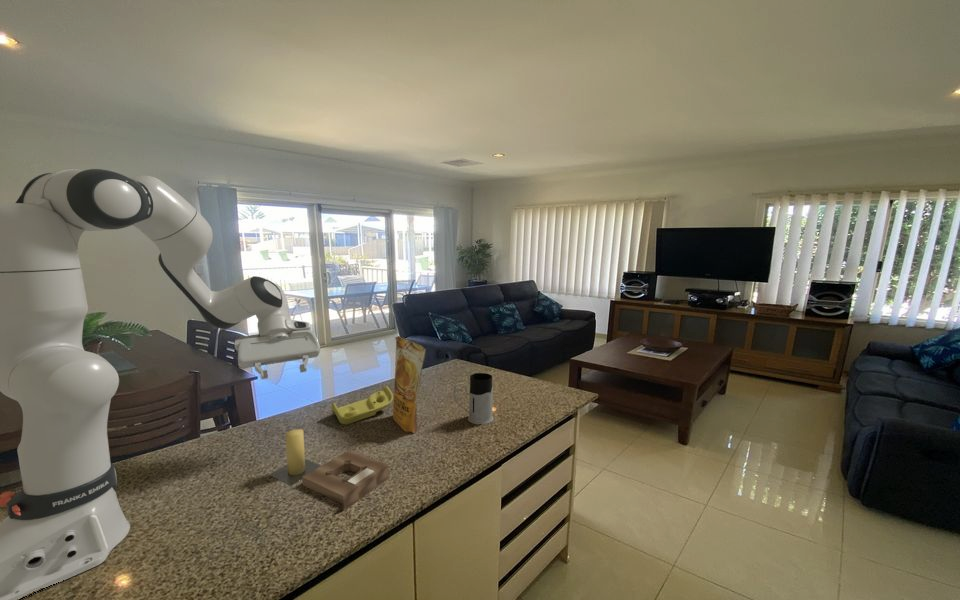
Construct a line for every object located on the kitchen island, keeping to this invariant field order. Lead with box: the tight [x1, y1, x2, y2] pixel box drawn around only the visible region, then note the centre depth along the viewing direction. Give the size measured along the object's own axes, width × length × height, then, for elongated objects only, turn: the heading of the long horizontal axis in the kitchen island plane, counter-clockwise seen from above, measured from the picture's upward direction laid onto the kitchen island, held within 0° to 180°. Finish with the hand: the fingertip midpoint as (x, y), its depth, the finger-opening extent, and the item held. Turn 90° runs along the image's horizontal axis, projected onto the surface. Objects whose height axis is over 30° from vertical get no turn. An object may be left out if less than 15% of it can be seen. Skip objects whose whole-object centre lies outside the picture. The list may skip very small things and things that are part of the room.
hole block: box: [301, 450, 390, 511], centre depth 91 cm, size 14×14×4 cm
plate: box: [268, 458, 322, 487], centre depth 95 cm, size 9×9×2 cm
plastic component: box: [330, 385, 394, 425], centre depth 132 cm, size 20×7×10 cm
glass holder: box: [453, 372, 494, 425], centre depth 126 cm, size 9×14×15 cm, turn 115°
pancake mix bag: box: [392, 335, 427, 434], centre depth 123 cm, size 7×19×28 cm, turn 33°
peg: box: [285, 428, 306, 475], centre depth 94 cm, size 4×4×10 cm
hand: (284, 374), depth 101 cm, fingers open, 8 cm apart
